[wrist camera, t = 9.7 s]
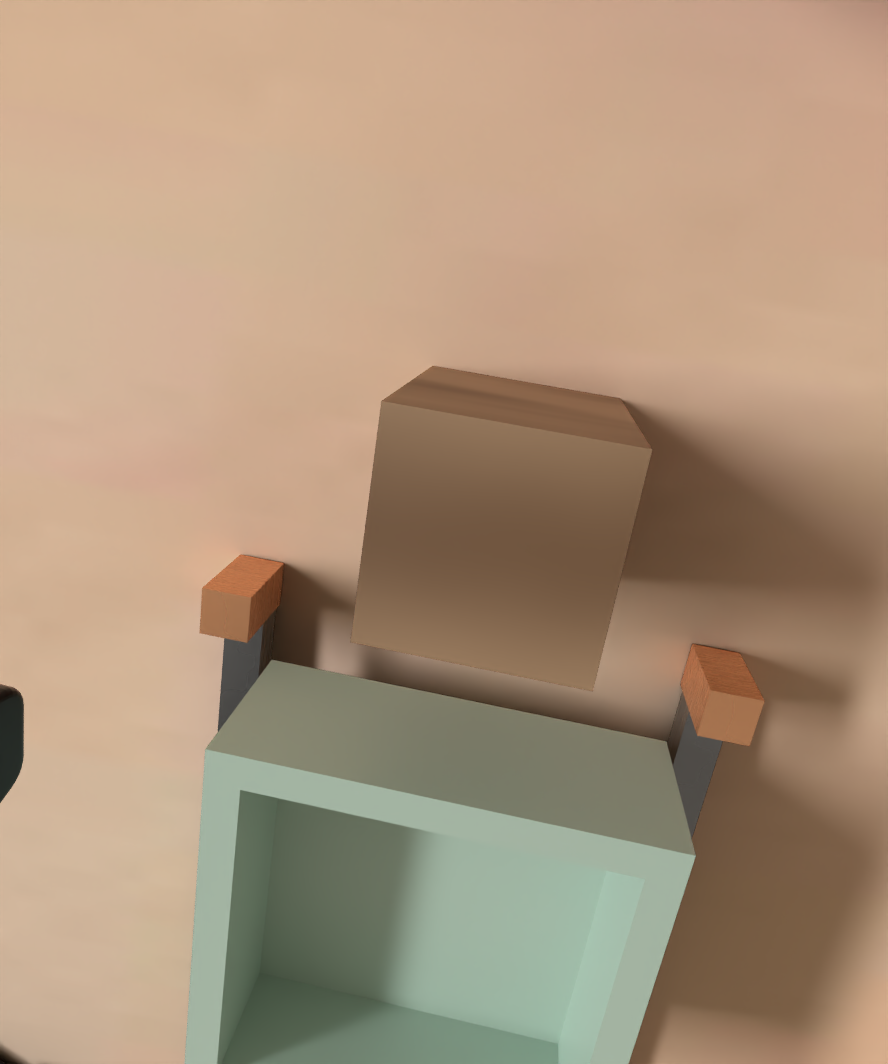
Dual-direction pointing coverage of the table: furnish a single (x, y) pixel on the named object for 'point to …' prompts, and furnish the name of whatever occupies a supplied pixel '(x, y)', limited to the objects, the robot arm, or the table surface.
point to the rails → (695, 739)
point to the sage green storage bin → (427, 880)
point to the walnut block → (498, 524)
